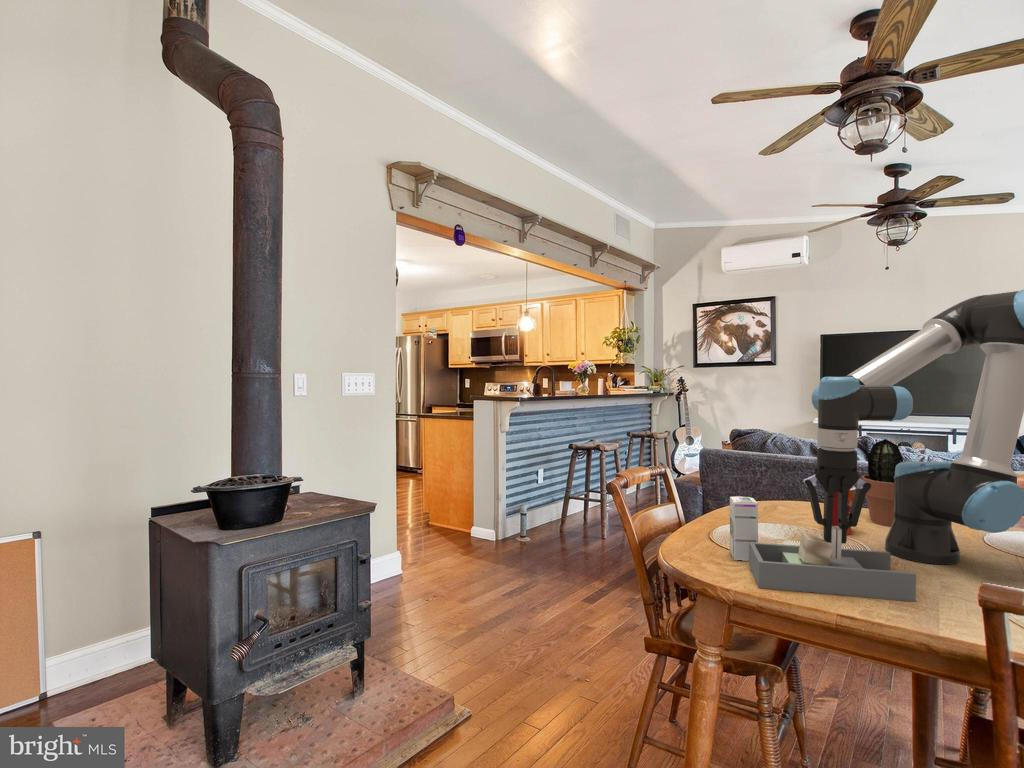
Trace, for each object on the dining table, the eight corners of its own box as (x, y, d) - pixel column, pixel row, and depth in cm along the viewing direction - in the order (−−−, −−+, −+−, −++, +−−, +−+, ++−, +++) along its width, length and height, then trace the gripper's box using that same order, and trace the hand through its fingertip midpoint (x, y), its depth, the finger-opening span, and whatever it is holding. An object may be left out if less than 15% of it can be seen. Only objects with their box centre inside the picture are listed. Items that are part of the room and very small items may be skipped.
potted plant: (928, 528, 163) (929, 441, 162) (880, 529, 163) (882, 442, 162) (895, 516, 177) (896, 435, 176) (851, 516, 177) (852, 436, 176)
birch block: (822, 560, 126) (826, 538, 126) (828, 567, 122) (833, 545, 121) (797, 554, 128) (802, 532, 127) (803, 561, 123) (807, 539, 122)
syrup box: (758, 562, 137) (759, 502, 136) (732, 560, 138) (733, 501, 137) (753, 554, 142) (754, 496, 142) (728, 553, 143) (729, 495, 143)
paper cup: (854, 537, 155) (855, 486, 155) (822, 533, 159) (823, 483, 159) (855, 530, 162) (856, 481, 162) (824, 526, 166) (825, 478, 166)
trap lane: (888, 576, 127) (888, 551, 127) (915, 601, 114) (916, 574, 114) (748, 565, 135) (749, 542, 134) (758, 587, 121) (759, 562, 121)
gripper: (807, 449, 121) (804, 560, 121) (878, 452, 117) (875, 566, 118) (798, 444, 128) (796, 549, 129) (866, 447, 124) (863, 554, 125)
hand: (834, 557), depth 123 cm, fingers closed
